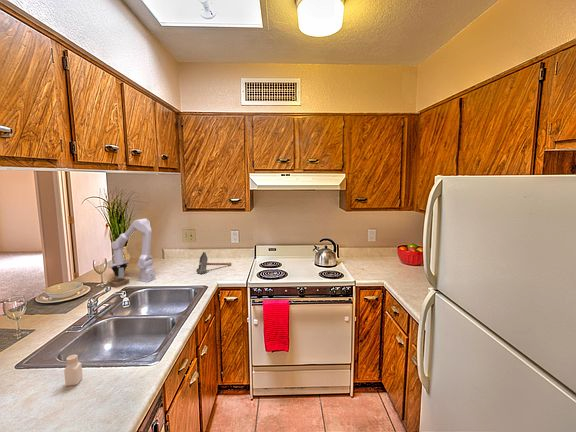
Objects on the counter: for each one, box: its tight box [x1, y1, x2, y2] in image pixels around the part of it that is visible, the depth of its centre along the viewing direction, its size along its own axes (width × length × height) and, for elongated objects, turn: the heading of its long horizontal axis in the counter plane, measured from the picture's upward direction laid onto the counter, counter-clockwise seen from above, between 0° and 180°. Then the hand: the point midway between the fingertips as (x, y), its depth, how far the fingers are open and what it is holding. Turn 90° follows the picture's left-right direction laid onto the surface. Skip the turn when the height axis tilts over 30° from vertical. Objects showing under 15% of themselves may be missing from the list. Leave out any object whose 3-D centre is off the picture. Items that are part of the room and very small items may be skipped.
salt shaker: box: [63, 354, 83, 387], centre depth 102 cm, size 4×4×10 cm
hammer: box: [196, 251, 232, 275], centre depth 233 cm, size 6×16×30 cm
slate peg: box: [115, 266, 125, 279], centre depth 212 cm, size 4×4×8 cm
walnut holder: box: [106, 277, 130, 289], centre depth 200 cm, size 9×9×3 cm
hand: (119, 275), depth 212 cm, fingers open, 4 cm apart
